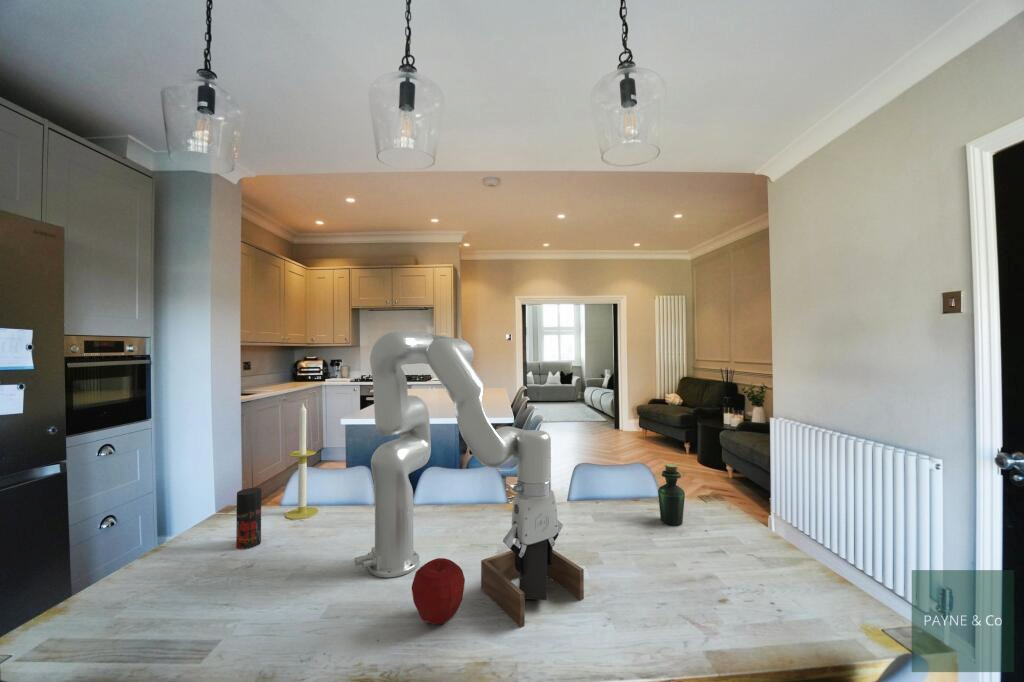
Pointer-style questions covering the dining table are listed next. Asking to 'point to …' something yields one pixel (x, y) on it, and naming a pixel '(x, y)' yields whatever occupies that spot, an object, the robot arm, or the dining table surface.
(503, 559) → the open box
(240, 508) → the deodorant
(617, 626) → the dining table surface
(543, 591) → the phone stand
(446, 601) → the apple
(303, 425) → the candle
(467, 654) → the dining table surface
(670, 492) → the potion bottle
